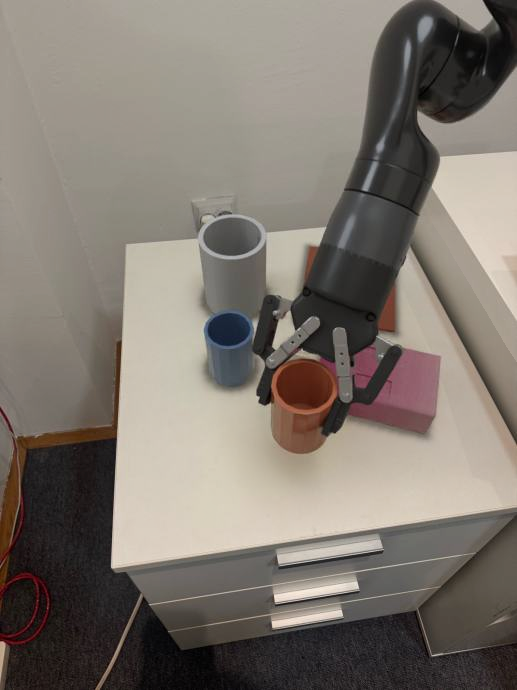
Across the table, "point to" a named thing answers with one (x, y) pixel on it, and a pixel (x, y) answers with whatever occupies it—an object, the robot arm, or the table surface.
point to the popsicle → (397, 389)
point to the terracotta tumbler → (301, 404)
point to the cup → (233, 263)
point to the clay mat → (388, 312)
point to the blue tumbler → (230, 347)
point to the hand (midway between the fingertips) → (294, 417)
